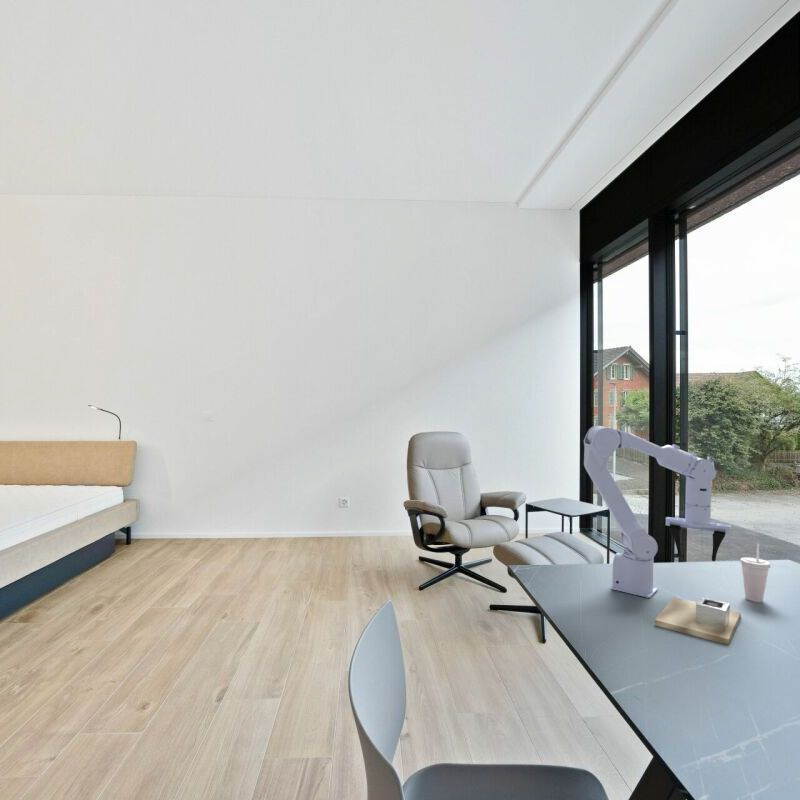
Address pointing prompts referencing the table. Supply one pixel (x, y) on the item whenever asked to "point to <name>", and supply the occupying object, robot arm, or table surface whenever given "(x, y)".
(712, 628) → the post board
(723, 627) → the steel collar
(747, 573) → the smoothie
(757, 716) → the table surface
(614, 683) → the table surface
